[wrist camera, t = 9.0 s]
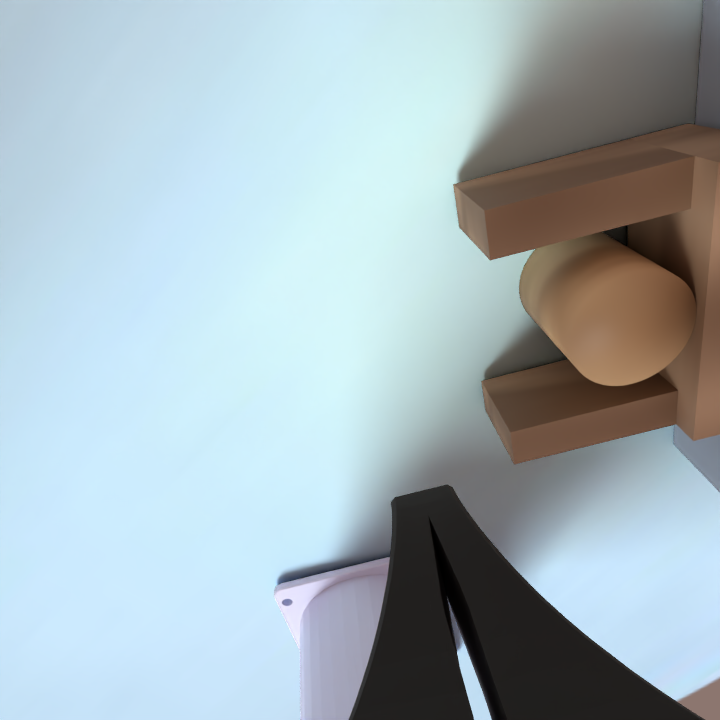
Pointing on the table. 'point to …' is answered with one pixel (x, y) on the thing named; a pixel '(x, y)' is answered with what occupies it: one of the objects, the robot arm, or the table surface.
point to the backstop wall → (716, 110)
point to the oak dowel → (608, 308)
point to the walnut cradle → (645, 236)
